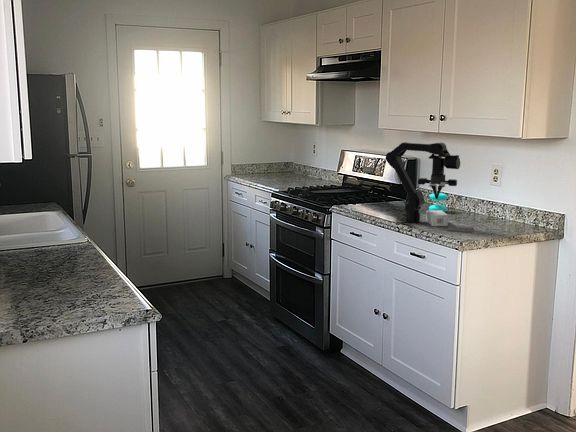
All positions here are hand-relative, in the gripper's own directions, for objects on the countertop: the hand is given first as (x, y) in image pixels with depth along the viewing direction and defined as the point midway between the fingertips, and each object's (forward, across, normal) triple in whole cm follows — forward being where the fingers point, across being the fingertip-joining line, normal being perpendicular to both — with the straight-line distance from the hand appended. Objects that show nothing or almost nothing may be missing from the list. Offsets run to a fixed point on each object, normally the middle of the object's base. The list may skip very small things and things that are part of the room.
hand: (436, 198), depth 302 cm
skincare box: (+10, +3, -6) cm, 12 cm away
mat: (+13, +13, -8) cm, 20 cm away
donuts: (+13, -4, +41) cm, 43 cm away
